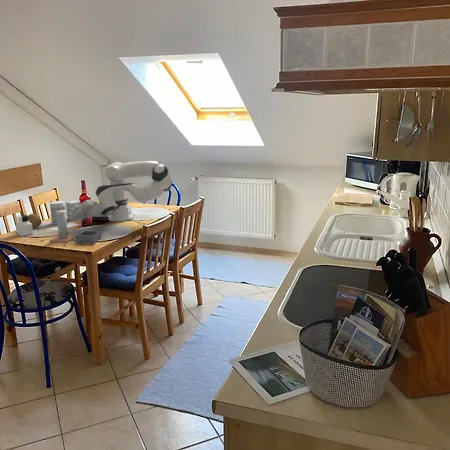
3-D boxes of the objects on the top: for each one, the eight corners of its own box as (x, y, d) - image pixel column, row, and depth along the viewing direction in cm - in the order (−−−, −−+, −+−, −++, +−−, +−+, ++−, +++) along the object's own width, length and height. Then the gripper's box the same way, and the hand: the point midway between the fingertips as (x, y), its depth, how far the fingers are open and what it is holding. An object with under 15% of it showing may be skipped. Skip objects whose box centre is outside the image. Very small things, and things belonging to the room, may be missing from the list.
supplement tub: (68, 224, 294) (66, 202, 290) (53, 226, 289) (51, 204, 285) (64, 220, 302) (62, 200, 298) (50, 223, 297) (47, 201, 293)
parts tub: (84, 237, 263) (83, 230, 262) (101, 238, 262) (100, 231, 261) (76, 242, 253) (75, 235, 252) (93, 243, 252) (93, 236, 251)
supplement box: (76, 217, 311) (74, 200, 308) (82, 218, 307) (81, 201, 303) (67, 219, 305) (65, 201, 302) (73, 221, 301) (71, 203, 298)
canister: (61, 236, 262) (59, 210, 258) (69, 236, 262) (67, 210, 258) (57, 238, 257) (54, 211, 253) (65, 238, 257) (62, 212, 253)
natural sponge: (23, 229, 281) (21, 214, 278) (33, 226, 289) (31, 211, 286) (34, 231, 278) (32, 215, 275) (44, 227, 286) (42, 212, 283)
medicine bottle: (28, 232, 276) (26, 213, 272) (33, 234, 271) (30, 215, 267) (17, 234, 271) (14, 215, 268) (21, 236, 266) (18, 217, 263)
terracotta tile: (59, 236, 266) (59, 234, 266) (76, 237, 264) (76, 235, 264) (50, 241, 255) (49, 240, 255) (67, 242, 254) (67, 240, 254)
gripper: (100, 206, 275) (82, 206, 264) (82, 221, 286) (64, 222, 274) (97, 197, 277) (78, 197, 265) (79, 212, 287) (60, 213, 276)
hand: (71, 210), depth 270 cm, fingers open, 8 cm apart
